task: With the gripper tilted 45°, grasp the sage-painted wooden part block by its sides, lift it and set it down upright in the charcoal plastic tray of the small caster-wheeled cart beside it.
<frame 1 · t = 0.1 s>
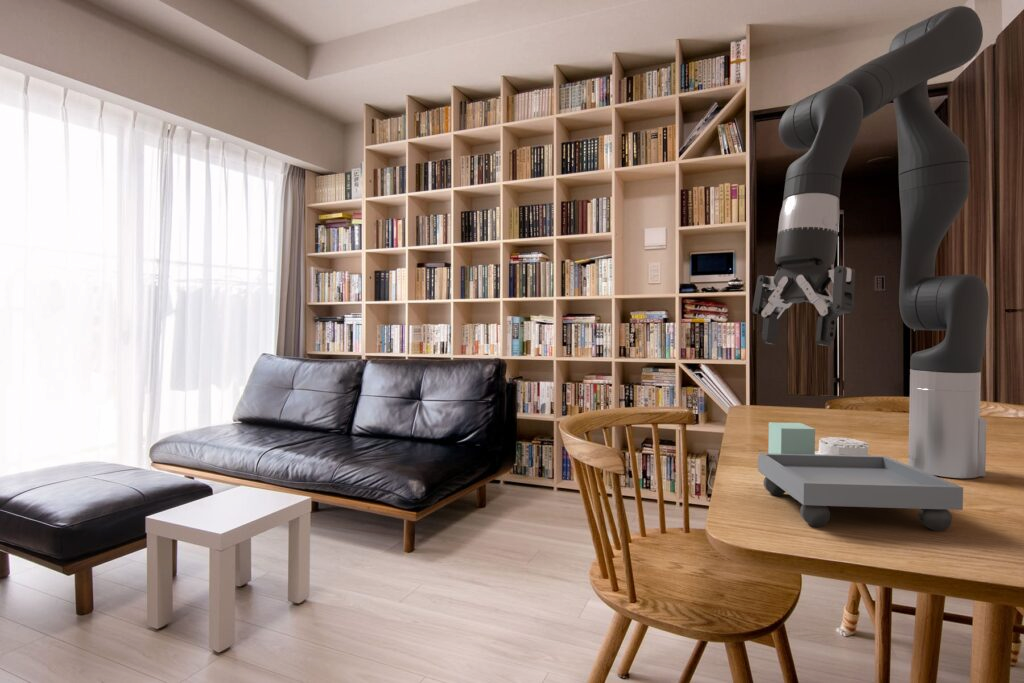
hand: (794, 344, 74), 22 cm above the table, tool pointing down, fingers open, 8 cm apart
caster cart: (847, 510, 70), on the table
sage part block: (790, 481, 83), on the table
mechanical component: (842, 465, 94), on the table
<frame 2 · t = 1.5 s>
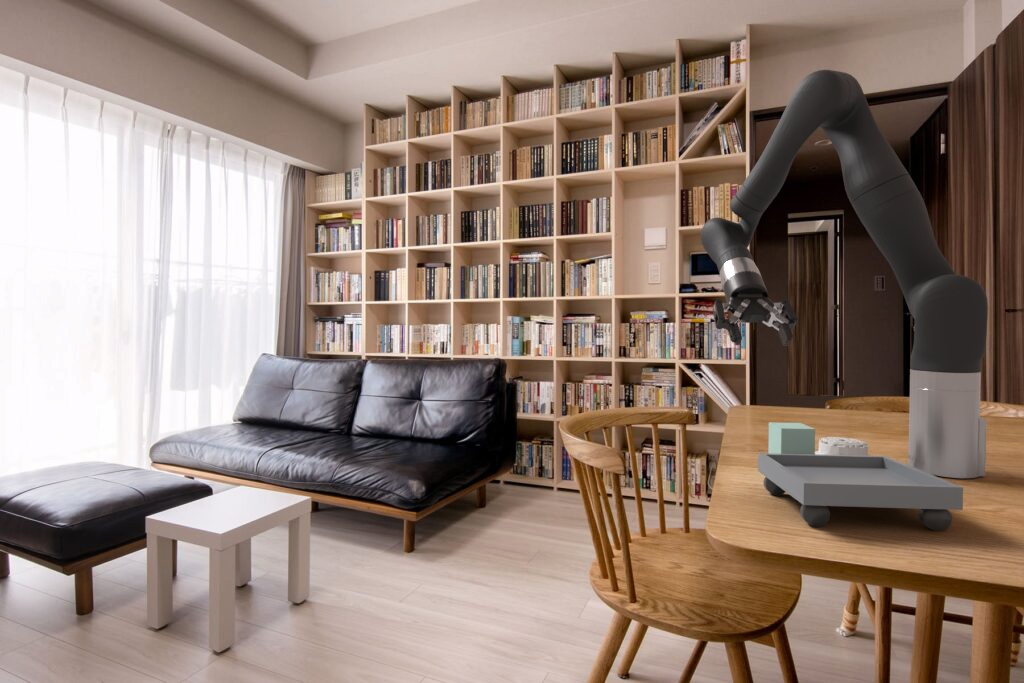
hand: (763, 342, 94), 22 cm above the table, tool tilted 45°, fingers open, 8 cm apart
nothing on the table moved.
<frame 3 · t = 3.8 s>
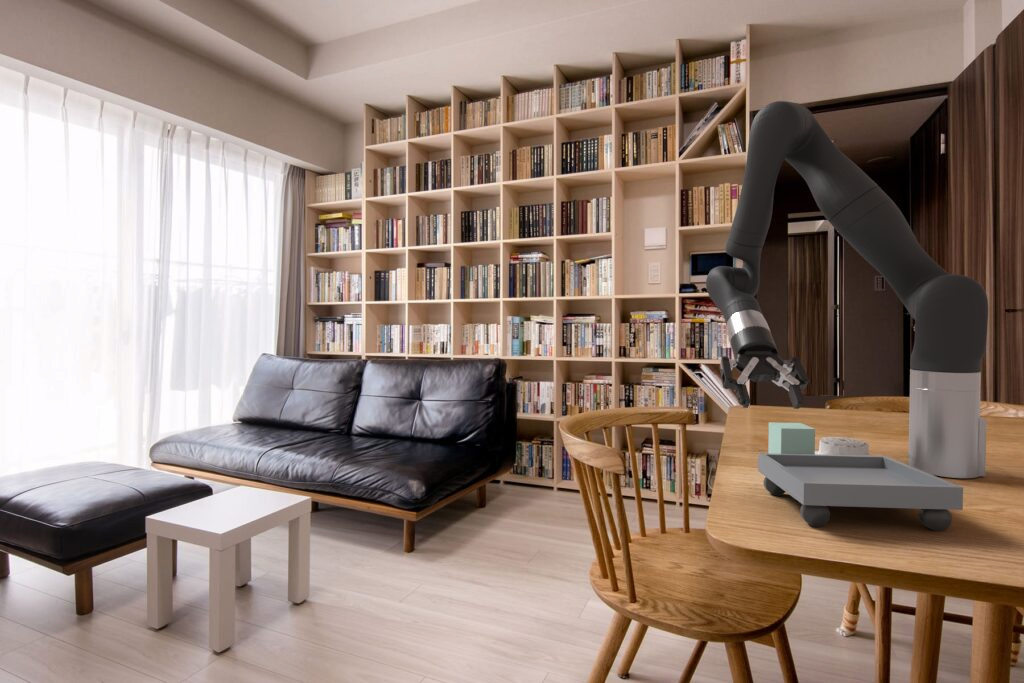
hand: (772, 405, 90), 11 cm above the table, tool tilted 45°, fingers open, 8 cm apart
nothing on the table moved.
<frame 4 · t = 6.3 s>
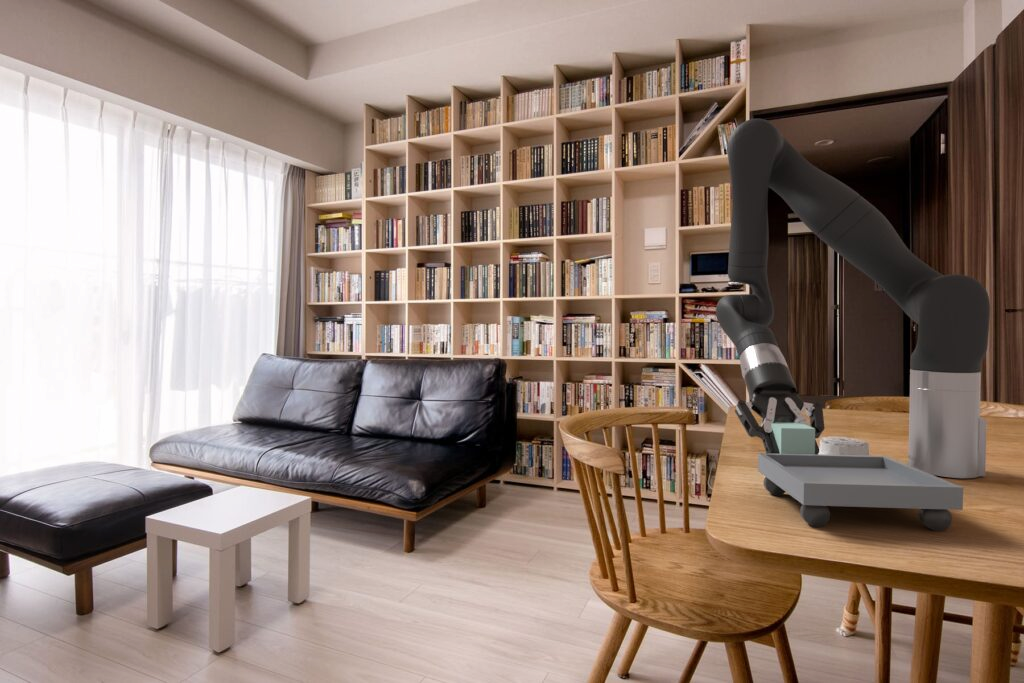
hand: (794, 457, 82), 4 cm above the table, tool tilted 45°, fingers closed on sage part block, 5 cm apart
sage part block: (790, 481, 83), on the table, touching gripper
everything else where it was.
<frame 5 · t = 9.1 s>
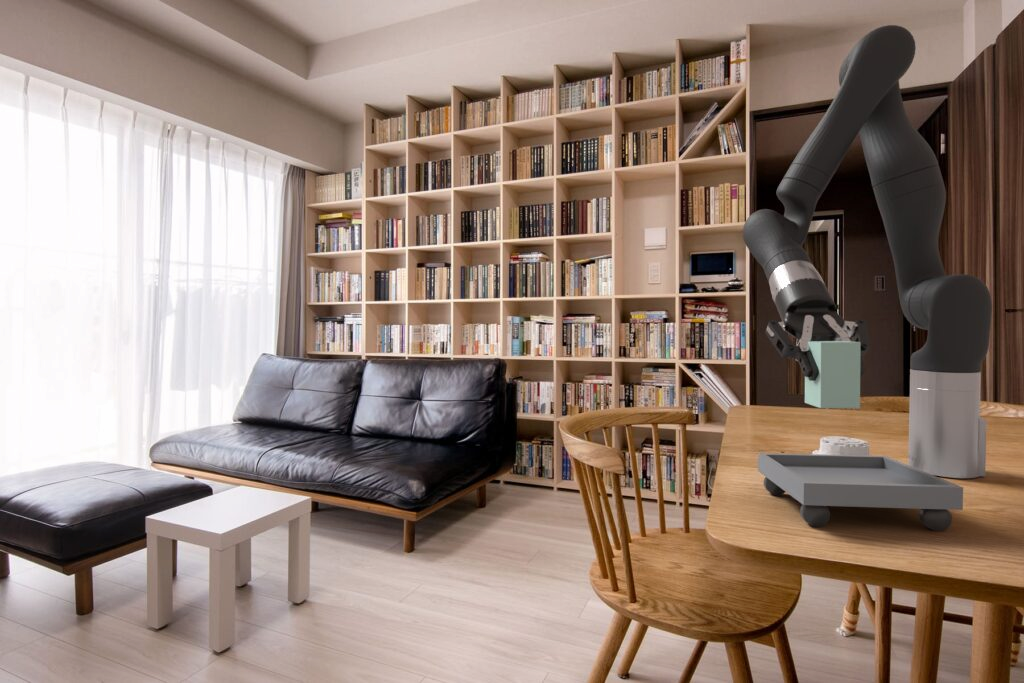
hand: (836, 376, 71), 18 cm above the table, tool tilted 45°, fingers closed on sage part block, 5 cm apart
sage part block: (831, 405, 73), point 14 cm above the table, touching gripper
when the fingers open (10 cm above the table, at t = 11.8 s): sage part block drops 1 cm, resting on caster cart.
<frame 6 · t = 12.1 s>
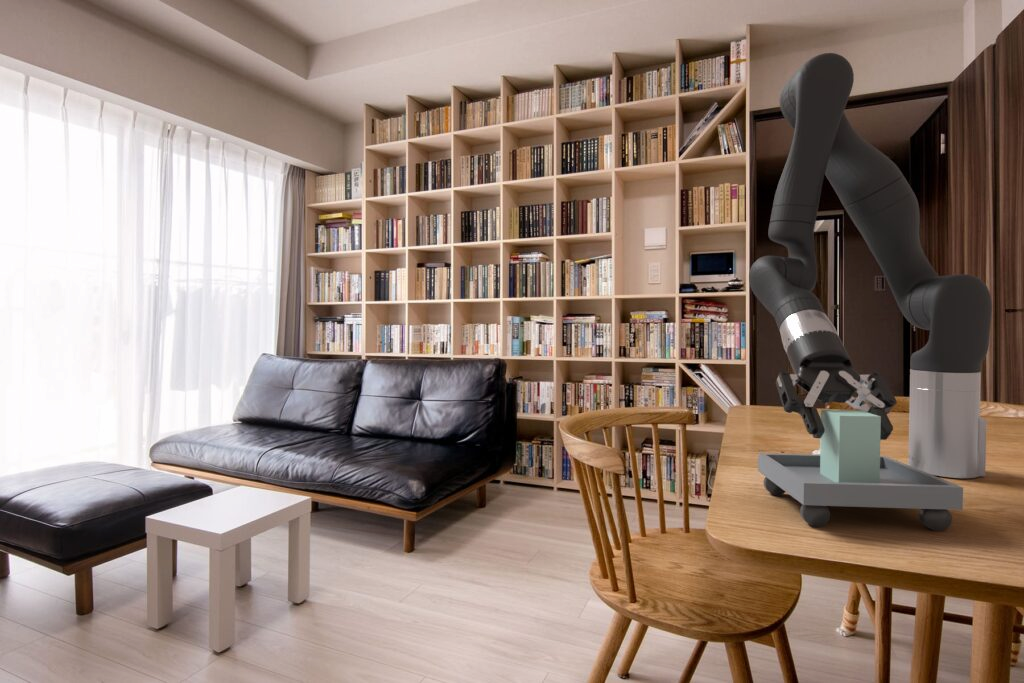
hand: (852, 435, 69), 10 cm above the table, tool tilted 45°, fingers open, 8 cm apart
sage part block: (848, 479, 70), point 4 cm above the table, touching caster cart
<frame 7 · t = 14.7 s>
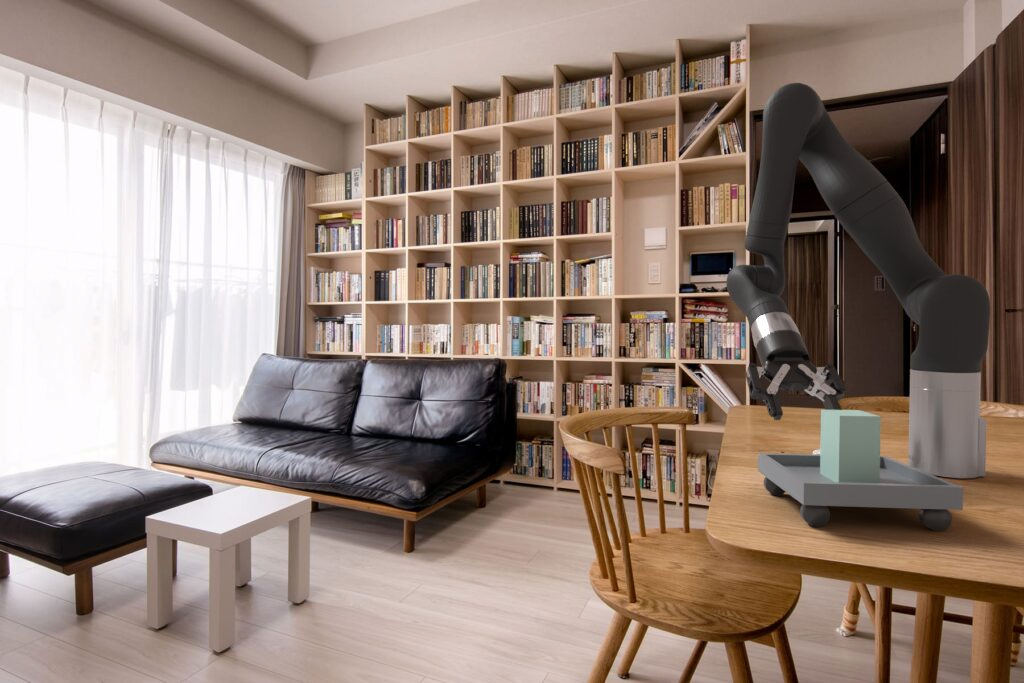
hand: (807, 418, 82), 10 cm above the table, tool tilted 45°, fingers open, 8 cm apart
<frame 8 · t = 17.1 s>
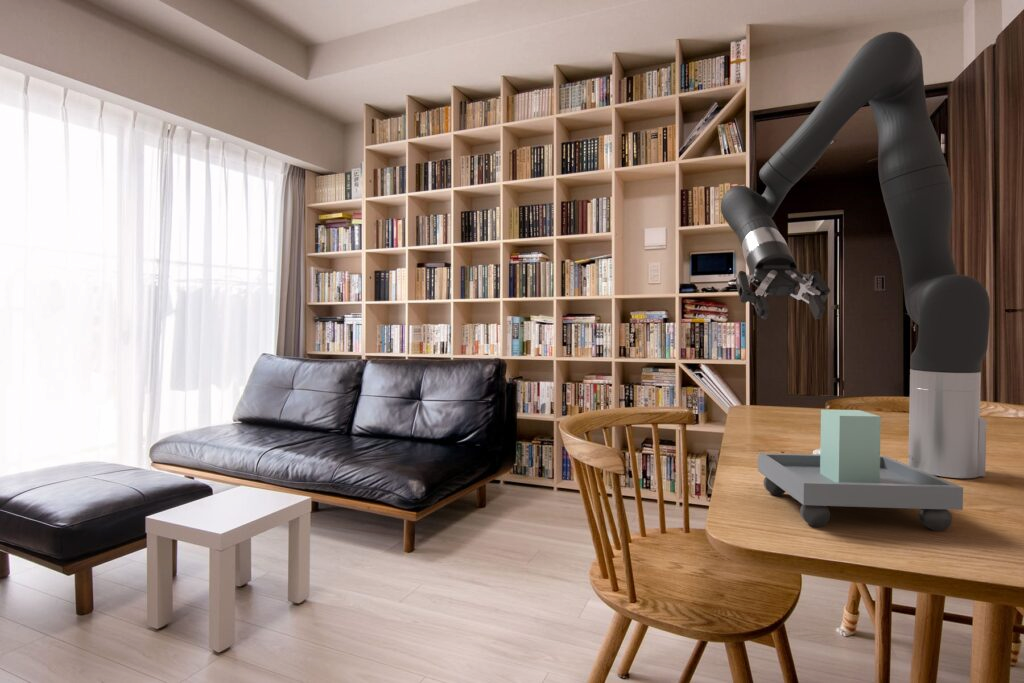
hand: (793, 315, 87), 27 cm above the table, tool tilted 45°, fingers open, 8 cm apart
at the end: sage part block inside the target area on the caster cart (0.1 cm from its centre), point 4.2 cm above the caster cart's base; sage part block tilted 0°; the gripper is holding nothing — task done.
